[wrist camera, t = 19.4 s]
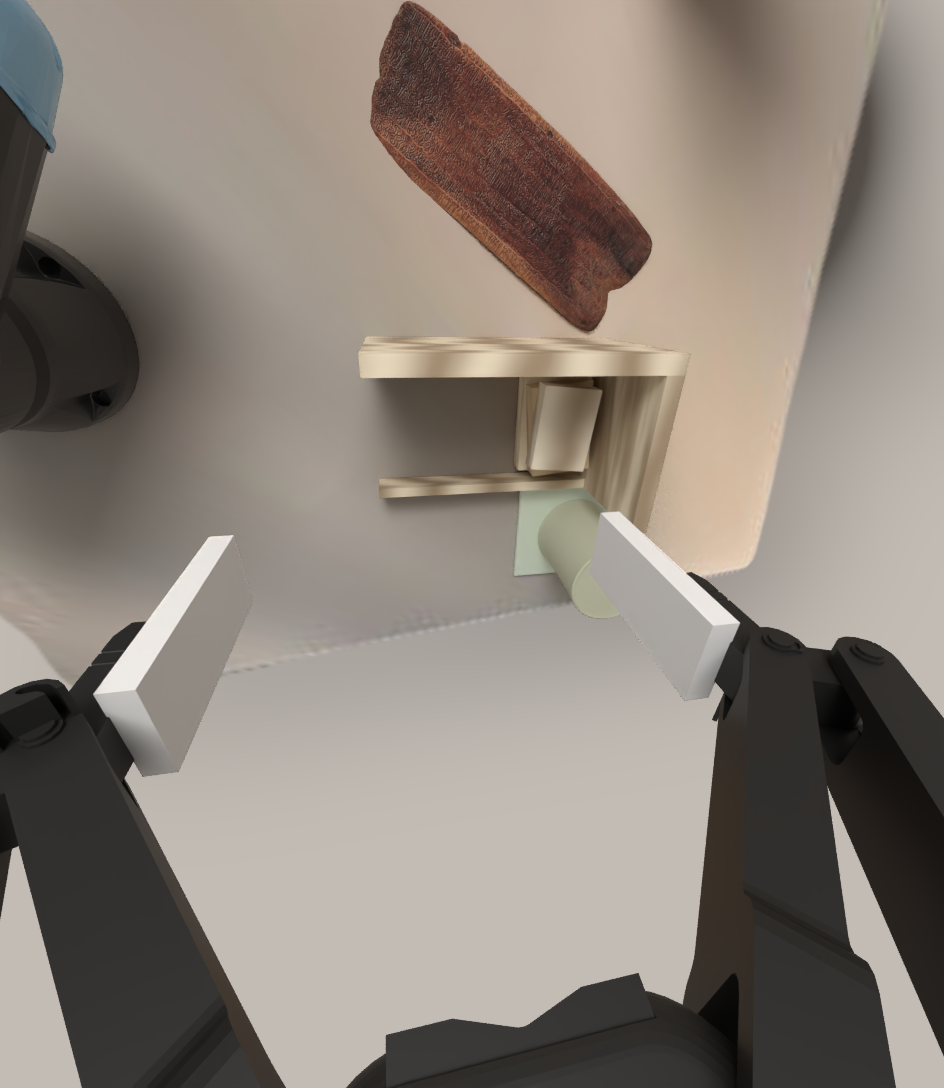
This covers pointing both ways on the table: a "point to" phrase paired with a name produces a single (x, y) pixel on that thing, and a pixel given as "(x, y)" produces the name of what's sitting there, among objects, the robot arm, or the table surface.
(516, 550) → the mat
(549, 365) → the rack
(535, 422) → the offcut stack
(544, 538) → the can
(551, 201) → the wooden tablet
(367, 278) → the table surface
